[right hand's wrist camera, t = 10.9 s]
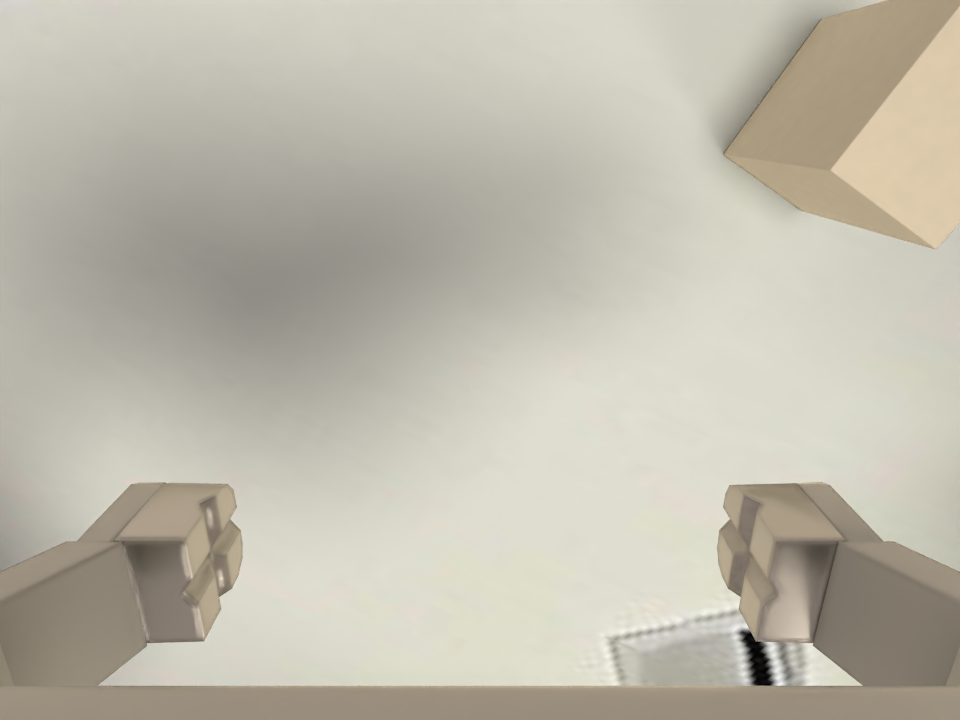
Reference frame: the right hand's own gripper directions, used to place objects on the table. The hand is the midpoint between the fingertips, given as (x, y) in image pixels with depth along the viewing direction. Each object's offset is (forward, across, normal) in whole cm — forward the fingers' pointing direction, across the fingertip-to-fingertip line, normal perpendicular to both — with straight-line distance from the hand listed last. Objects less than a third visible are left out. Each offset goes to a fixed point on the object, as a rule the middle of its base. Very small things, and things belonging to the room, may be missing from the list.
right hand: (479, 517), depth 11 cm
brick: (+23, -15, -6) cm, 28 cm away
